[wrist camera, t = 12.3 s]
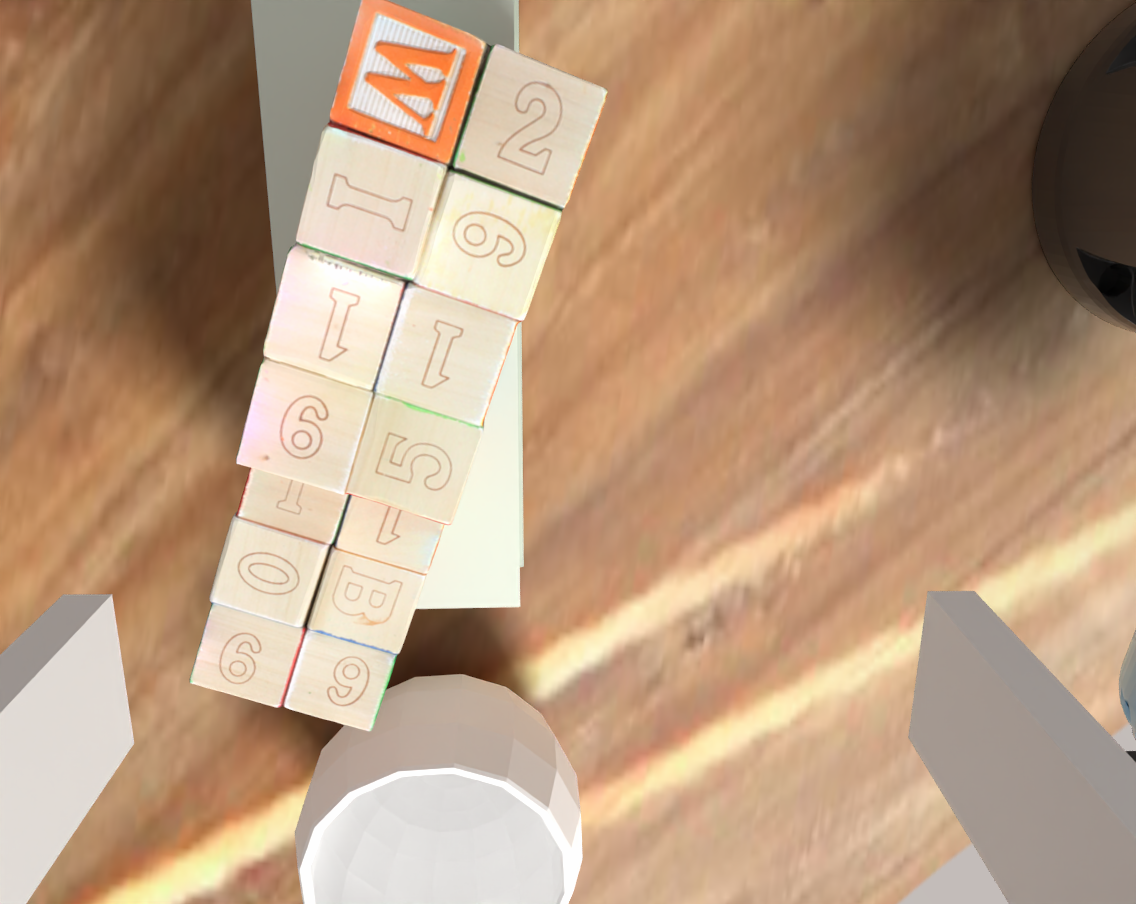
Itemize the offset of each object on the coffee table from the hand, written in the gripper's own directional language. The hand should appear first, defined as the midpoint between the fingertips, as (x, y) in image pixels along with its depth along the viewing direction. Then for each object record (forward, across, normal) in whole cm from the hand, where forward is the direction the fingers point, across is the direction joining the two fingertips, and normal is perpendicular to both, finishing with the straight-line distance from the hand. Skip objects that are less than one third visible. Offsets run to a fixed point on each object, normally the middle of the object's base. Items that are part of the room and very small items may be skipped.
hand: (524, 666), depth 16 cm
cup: (+28, +4, +21) cm, 35 cm away
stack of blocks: (+23, +5, 0) cm, 24 cm away
